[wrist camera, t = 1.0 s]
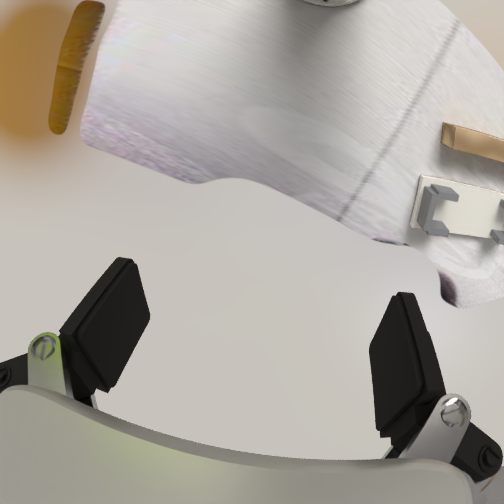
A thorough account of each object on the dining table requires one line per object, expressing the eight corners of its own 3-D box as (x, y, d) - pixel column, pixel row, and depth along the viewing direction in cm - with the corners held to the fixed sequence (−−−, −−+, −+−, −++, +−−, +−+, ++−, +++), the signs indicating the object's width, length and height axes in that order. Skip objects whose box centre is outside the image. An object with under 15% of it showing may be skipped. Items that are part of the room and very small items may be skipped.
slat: (442, 121, 30) (455, 127, 26) (518, 144, 27) (532, 152, 24) (440, 142, 31) (453, 149, 28) (515, 162, 29) (528, 170, 25)
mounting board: (420, 174, 34) (431, 184, 31) (517, 197, 31) (529, 207, 28) (409, 224, 39) (417, 238, 35) (503, 238, 36) (514, 250, 32)
